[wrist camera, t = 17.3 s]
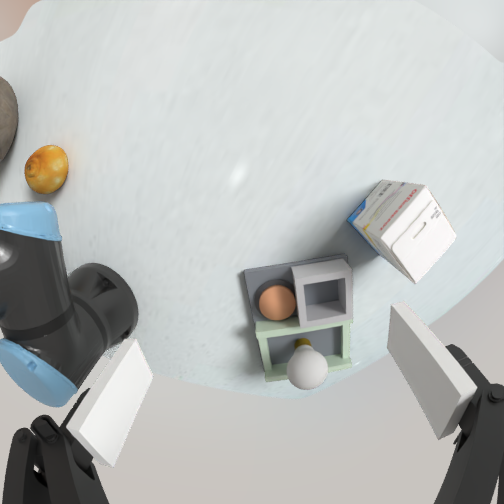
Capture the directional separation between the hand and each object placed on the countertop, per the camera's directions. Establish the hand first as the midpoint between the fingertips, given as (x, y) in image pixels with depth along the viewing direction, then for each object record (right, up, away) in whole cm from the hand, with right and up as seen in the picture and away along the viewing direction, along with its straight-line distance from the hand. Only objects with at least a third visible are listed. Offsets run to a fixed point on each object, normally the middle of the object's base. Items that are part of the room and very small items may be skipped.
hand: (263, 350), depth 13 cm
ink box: (+19, +10, +25) cm, 32 cm away
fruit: (-34, +19, +23) cm, 45 cm away
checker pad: (+3, -2, +27) cm, 27 cm away
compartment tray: (+7, -6, +29) cm, 31 cm away
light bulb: (+7, -10, +30) cm, 32 cm away
